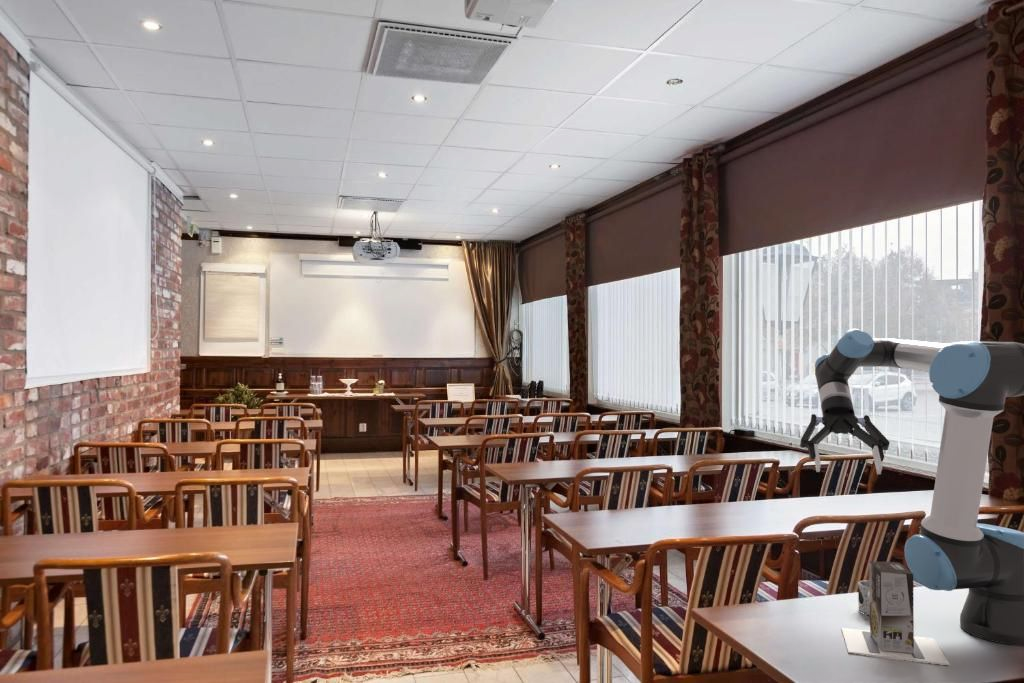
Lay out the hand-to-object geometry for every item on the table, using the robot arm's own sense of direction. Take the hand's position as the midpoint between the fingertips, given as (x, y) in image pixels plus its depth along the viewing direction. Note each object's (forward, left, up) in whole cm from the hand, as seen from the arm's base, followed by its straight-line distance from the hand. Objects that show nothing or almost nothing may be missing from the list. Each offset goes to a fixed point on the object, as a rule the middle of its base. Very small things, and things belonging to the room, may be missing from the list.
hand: (848, 469), depth 173 cm
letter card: (-6, +21, -34) cm, 40 cm away
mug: (-5, +1, -34) cm, 34 cm away
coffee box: (-6, +21, -33) cm, 40 cm away
